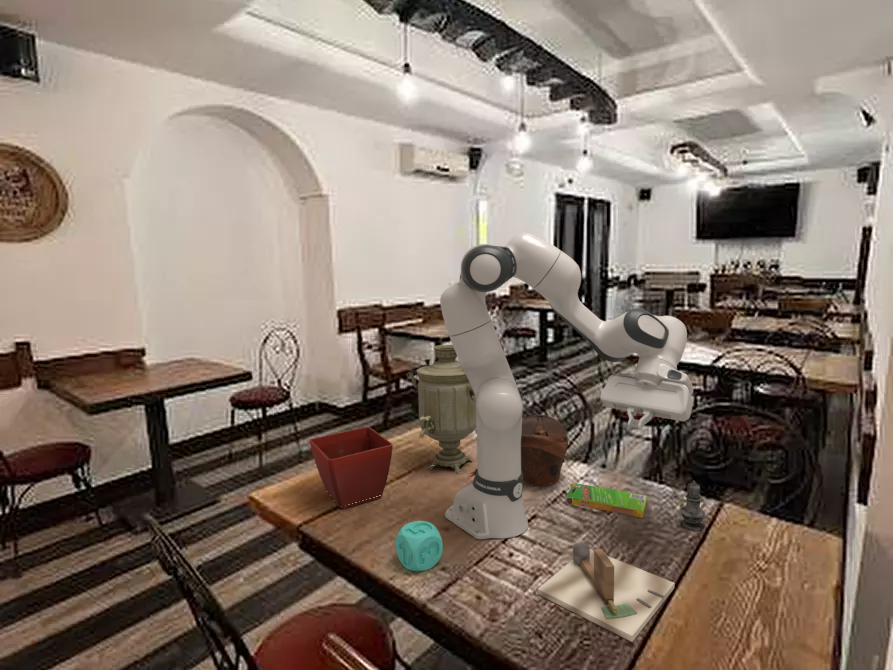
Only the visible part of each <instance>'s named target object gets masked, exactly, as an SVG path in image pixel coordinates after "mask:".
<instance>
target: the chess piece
mask: <svg viewBox="0 0 893 670" xmlns="http://www.w3.org/2000/svg"><path fill="white" fill-rule="evenodd" d="M686 491H687V493H686V495H685V498H686V504H685V506H682V507H680V509H679V512H680V514H681V517H682V519H683V520H681V521H680V525H681V526H682V527H683V528H685V529H687V530H689V531H697V532H698V531H702V530H703V529H704V528H705V527H704V523H702V522H703V521H704V519H705V517H706V515H707V514H706V512H705V510H703V509H701V506H700V505H701V504H700V503H701V500H702V497H701V486H700V485H699V484H698V483H697V482H696V481H695V480H692V482H690V483H688V484H687V489H686Z"/></svg>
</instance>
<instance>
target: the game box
mask: <svg viewBox="0 0 893 670" xmlns="http://www.w3.org/2000/svg"><path fill="white" fill-rule="evenodd" d="M568 490H569V491H567V494H566V495H565V497H566V498H568V499H569V498H571V505H575V506H579V507H585V508H590V509H593V510H594V509H595V510H600V511H605V512H612V513H616V514H622V515H626V516H631V517H632V516H633V517H637V518H644V515H645V512H646V511H645V510H646V506H647V504H648V495H644V494H640V493H639V494H638V493H633V492H628V491H622V490H618V489H611V488H604V487H600V486H594V485H589V484H583V483H578V482H577V483H575V482H574V483H573V484H572V485H571V487H570V489H568ZM573 491H574V492H573Z"/></svg>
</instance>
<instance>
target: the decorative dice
mask: <svg viewBox="0 0 893 670" xmlns="http://www.w3.org/2000/svg"><path fill="white" fill-rule="evenodd" d="M394 543H395V544H394V545H395V546H394V547H395V551H396V555H397V558H398V559H399V562H400V563H401V565H402V566H403V567H404V568H405V569H407V570H408V571H412V572H425V571H428V570H430V569H432V568H434V566H435V565H437V563H438V562H439V561H440V559H441V557H442V555H443V550H444V549H443V548H444V545H443V544H444V543H443V539H442V536H441V534H440V532H439V529H438V528H437V527H436V526H435V524H433V523H431V522H429V521H426V520H415V521H411V522H408V523H405V525H403V526H402V528H401V529H400V530H399V531H398V532H397V535H396V537H395V541H394Z"/></svg>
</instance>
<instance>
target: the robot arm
mask: <svg viewBox="0 0 893 670" xmlns="http://www.w3.org/2000/svg"><path fill="white" fill-rule="evenodd" d="M460 262H461V263H460V274H459V281H458V282H457V283H454V284H453V285H450V286H448V287H447V288H446V289H445V290H444V291H443V292H442V294H441V295H440V299H439V303H440V310H441V313H442V318H443V321H444V326H445V328H446V331H447V333H448V336H449V339H450V341H451V345H453V347H454V349H455V352H456V354H457V357H456V358H457V359H458V361H459V362H460V364H461V366H462V368H463V370H464V372H465V374H466V376H467V378H468V380H469V382H470V385H471V387H472V389H473V392H474V394H475V399H476V423H477V426H476V449H477V450H476V451H477V452H476V457H477V468H475V470H473V471H472V472H470V473H469V478H472V477H473V479H472V482H470V483H468V484H467V485H466V486H464V487H463V488H461V489H460V490H458V491H457V493H456V494H455V496H454V499H453V504H452V505H451V506H450V507H448V508H447V509H446V510H445V512H444V517H445V518H446V519H447V520H449V521H450V522H451V523H453V524H455V526H457V527H459V528H460V529H462V530H464V531H465V532H466V533H467V534H469V535H471V537H473V538H474V539H476V540H486V539H510V538H514V537H517V536H519V535H522V534H523V533H524V532H526V531H527V529H528V527H529V522H528V518H527V516H526V515H527V514H526V512H525V511H526V510H525V505H524V499H523V492H524V491H523V490H524V482H523V473H522V471H521V433H522V420H523V400H522V397H521V394H520V391H519V388H518V385H517V383H516V380H515V377H514V375H513V372H512V370H511V368H510V364H509V362H508V359H507V356H506V355H505V352H504V350H503V346H502V344H501V342H500V339H499V336H498V333H497V331H496V329H495V326H494V323H493V320H492V318H491V316H490V313H489V310H488V307H487V303H486V296H487V293H490V292H493V291H496V290H497V289H499V288H501V287H502V286H503V285H504V284H505V283H507V282H508V281H510V280H511V279H512V278H514V279H515V278H516V279H518V280H519V281H522V282H523V283H524V284H526V285H527V286H529V287H530V288H531V289H533V290H535V292H537V293H539V294H540V295H541V296H542V297H543V298H544V299H545V300H546V301H547V303H548V305H549V306H550V308H551V309H552V310H553V312H555V313H556V315H558V317H560V318H561V319H562V320H563V321H564V322H566V323H567V324H568V325H569V326H570V327H571V328H572V329H573V330H574V331H576V332H577V333H578V334H579V335H581V336H582V337H583V338H584V339H585V340H586V341H587V342H588V344H590V346H591V348H592V349H593V350H594V351H595V352H596V354H597V355H598V356H599V357H600V358H602V359H603V360H604V361H606V362H610V363H618V362H621V361H624V360H625V359H627V358H629V357H630V356H631V355H633V354H636V355H638V358H639V359H638V362H637V363H636V366H635V369H634V371H633V374H631V373H623V372H616V373H614V374H611V375H610V376H609V377H608V380H607V382H606V383H605V384H606V385H605V386H604V387H603V389H602V390H601V393H600V396H599V398H600V401H601V403H602V405H603V406H605V408H608V409H615V410H616V409H617V410H620V411H625V412H627V415H628V422H627V427H628V428H629V429H632V430H637V431H643V429H644V426H645V425H647V423H649V422H650V421H652V419H653V417H658V418H663V419H669V420H672V421H673V420H674V421H678V422H683V423H684V422H686V421H688V420H689V419H690V417H691V414H692V410H693V405H694V403H693V402H694V401H693V400H694V399H693V397H692V395H693V393H694V386H693V383H692V381H691V379H690V377H689V376H688V375H687V373H684V372H682V371H680V370H678V367H677V366H678V365H679V363H680V362H681V360H682V357H683V355H684V352H685V349H686V345H687V340H688V339H687V338H688V332H687V331H688V330H687V327H686V325H685V324H684V323H683V322H682V321H681V320H680V319H678V318H677V317H675V316H671V315H662V316H660V315H655V314H652V313H651V312H650V311H648V310H646V309H645V308H644V309H643V308H636V307H635V308H632V309H629V310H628V311H626V312H624V313H623V314H621V315H619V316H618V317H616V318H614V319H613V320H611V321H605V320H603V319H600V318H599V317H598V316H597V315H596V314H595V313H593V311H591V310H590V309H589V308H588V307H586V306H585V305H584V304H583V303H582V301H580V299H579V294H578V293H579V289H580V287H581V283H582V273H581V269H580V266H579V264H577V262H576V261H575V260H574V259H573V258H572V257H570V255H568V254H566V253H565V252H564V251H562V250H561V249H559V248H558V247H556V246H555V245H554V244H551V242H548V241H547V240H545V239H543V238H541V237H539V236H537V235H534V234H532V233H530V232H526V231H525V232H524V231H523V232H519V233H517V234H516V235H514V236H512V237H511V238H510V240H509V241H508V242H507V243H506V245H504V246H500V245H492V244H486V243H483V244H481V243H480V244H477V245H474V246H472V247H471V248H469V249H468V250H467V251H466V252H465V253H464V255H463V257H462V259H461V261H460ZM637 414H641V415H643V416H642V417H641V418H640V419H635V418H634V417H636V416H637Z"/></svg>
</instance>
